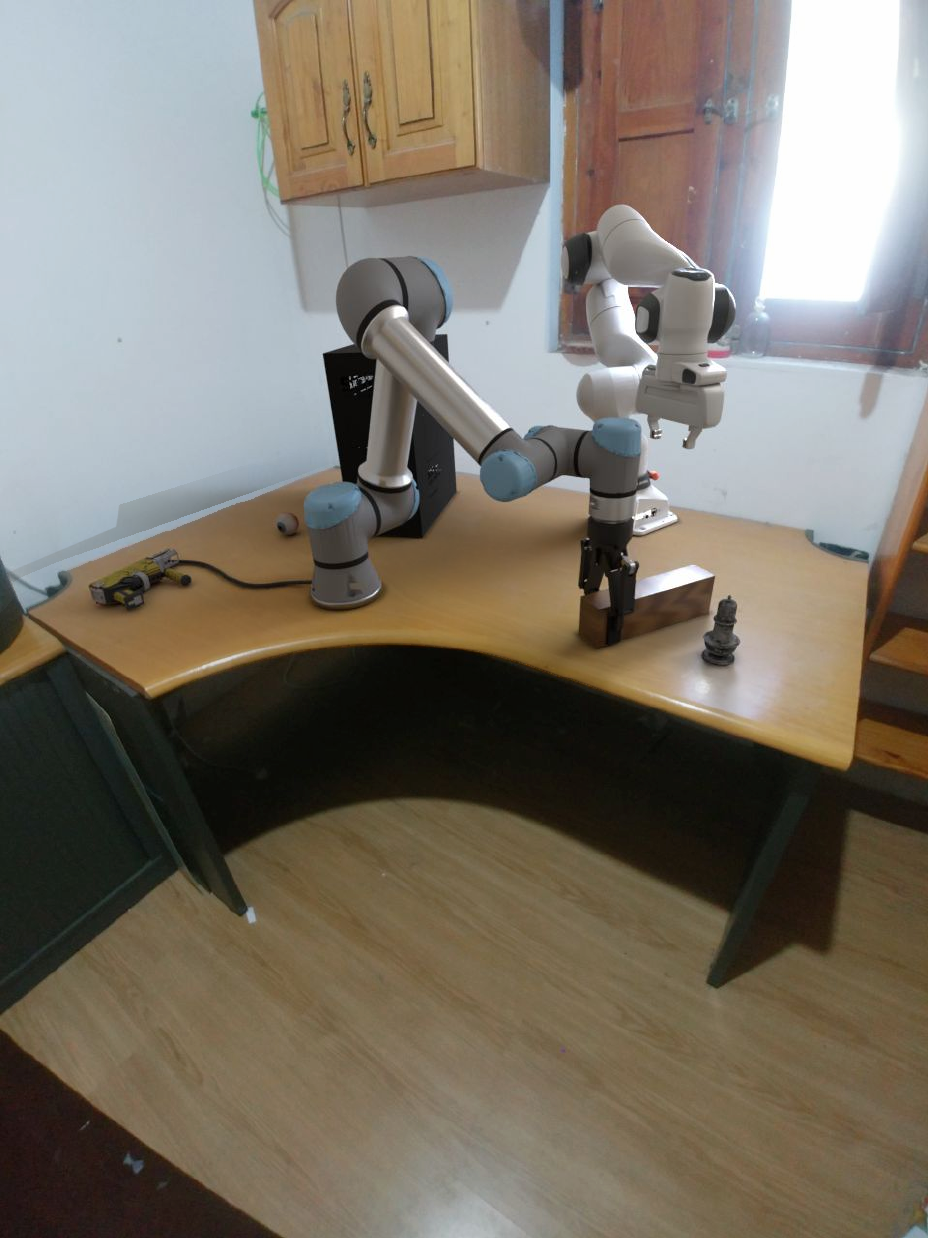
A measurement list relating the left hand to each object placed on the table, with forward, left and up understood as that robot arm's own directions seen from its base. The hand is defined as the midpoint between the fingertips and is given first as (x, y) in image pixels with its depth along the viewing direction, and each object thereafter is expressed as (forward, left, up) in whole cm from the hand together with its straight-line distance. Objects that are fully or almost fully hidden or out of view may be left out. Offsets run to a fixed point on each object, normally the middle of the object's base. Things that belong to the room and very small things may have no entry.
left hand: (602, 634), depth 112 cm
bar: (+7, +7, 0) cm, 10 cm away
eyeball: (-91, +25, 0) cm, 94 cm away
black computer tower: (-67, +50, 0) cm, 84 cm away
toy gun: (-101, -11, 0) cm, 102 cm away
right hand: (+6, +30, +28) cm, 42 cm away
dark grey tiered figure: (+20, 0, 0) cm, 20 cm away
